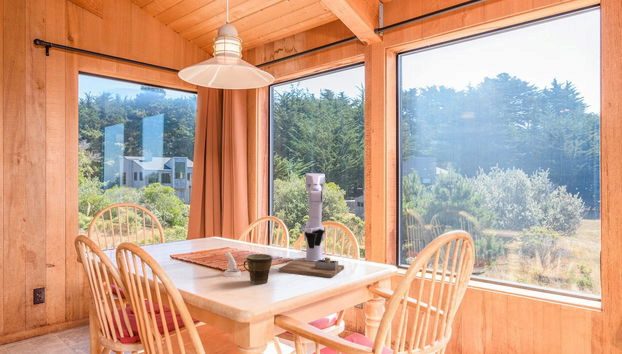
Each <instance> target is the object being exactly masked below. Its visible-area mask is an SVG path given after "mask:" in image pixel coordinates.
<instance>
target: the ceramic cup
mask: <svg viewBox="0 0 622 354" xmlns="http://www.w3.org/2000/svg"><path fill="white" fill-rule="evenodd" d="M272 263H273V255H270V254H268V253H267V254H265V253H254V254H249V255H247V256H246V260H244V262H243V268H244V269H246V270H247V272H248V274H249V280H250V284H253V285H264V284H267V283H268V281H269V275H270V269H271V267H272ZM246 264H247V267H246Z"/></svg>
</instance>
